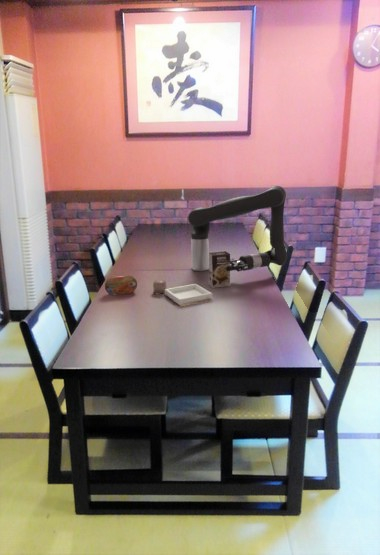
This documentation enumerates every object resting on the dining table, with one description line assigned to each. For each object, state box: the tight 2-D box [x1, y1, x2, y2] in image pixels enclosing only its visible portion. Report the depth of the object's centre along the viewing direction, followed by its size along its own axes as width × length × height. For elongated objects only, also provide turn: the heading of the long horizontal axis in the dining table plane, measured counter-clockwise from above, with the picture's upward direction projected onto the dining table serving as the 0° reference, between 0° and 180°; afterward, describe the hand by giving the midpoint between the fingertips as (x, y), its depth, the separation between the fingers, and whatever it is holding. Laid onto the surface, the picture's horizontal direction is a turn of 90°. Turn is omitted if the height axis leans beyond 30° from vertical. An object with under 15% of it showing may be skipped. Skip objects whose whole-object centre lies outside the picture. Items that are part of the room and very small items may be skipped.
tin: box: [104, 274, 138, 296], centre depth 221 cm, size 15×3×8 cm, turn 105°
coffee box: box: [208, 251, 231, 289], centre depth 227 cm, size 9×6×16 cm
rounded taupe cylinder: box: [152, 279, 167, 294], centre depth 222 cm, size 6×6×5 cm
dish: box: [164, 283, 213, 306], centre depth 213 cm, size 16×16×3 cm
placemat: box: [179, 298, 213, 307], centre depth 214 cm, size 18×15×1 cm
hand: (222, 266), depth 227 cm, fingers open, 8 cm apart
